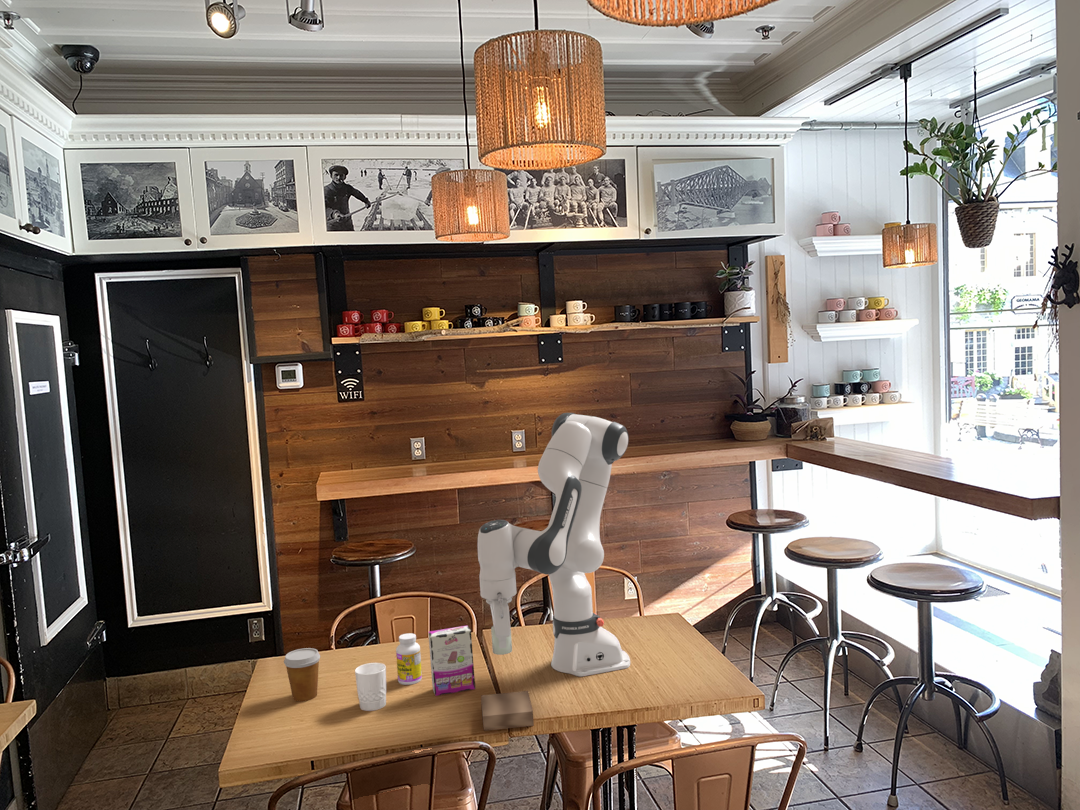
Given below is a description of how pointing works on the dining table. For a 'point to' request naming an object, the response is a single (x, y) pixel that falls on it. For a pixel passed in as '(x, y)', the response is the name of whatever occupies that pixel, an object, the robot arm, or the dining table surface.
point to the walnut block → (506, 710)
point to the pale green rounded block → (495, 644)
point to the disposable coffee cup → (303, 673)
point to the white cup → (371, 686)
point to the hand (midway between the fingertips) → (501, 642)
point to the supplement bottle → (408, 660)
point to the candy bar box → (451, 660)
